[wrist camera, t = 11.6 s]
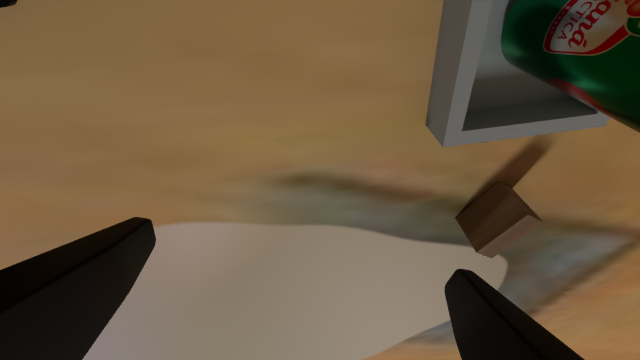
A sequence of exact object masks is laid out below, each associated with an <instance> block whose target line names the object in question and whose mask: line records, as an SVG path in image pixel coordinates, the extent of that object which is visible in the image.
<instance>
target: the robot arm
mask: <svg viewBox="0 0 640 360" xmlns="http://www.w3.org/2000/svg"><path fill="white" fill-rule="evenodd" d="M16 2H17V0H0V8H1V7H7V6H12V5H15V4H16ZM155 242H156V237H155V233H154V229H153V224H152V221H151V220H150V219H147V218H141V217H134V218H131V219H128V220H126V221H123V222H121V223H118V224H116V225H113V226H111V227H108V228H106V229H103V230H101V231H98V232H95V233H93V234H90V235H88V236H85V237H83V238H80V239H78V240H75V241H73V242H70V243H68V244H65V245H63V246H60V247H58V248H55V249H52V250H50V251H47V252H45V253H42V254H40V255H37V256H35V257H32V258H30V259H27V260H25V261H22V262H19V263H17V264H14V265H12V266H9V267H7V268H4V269H2V270H0V360H82V359H83V358H84V356H85V355H86V353H87V352H88V351H89V349H90V348H91V346H92V345H93V344H94V342H95V341H96V339H97V338H98V336H99V335H100V334H101V332H102V330H103V329H104V328H105V326H106V325H107V324H108V322H109V320H110V319H111V318H112V316H113V315H114V314H115V312H116V311H117V309H118V308H119V306H120V305H121V304H122V302H123V301H124V299H125V298H126V296H127V295H128V293H129V292H130V290H131V288H132V287H133V285H134V283H135V281H136V279H137V278H138V276H139V274H140V272H141V270H142V269H143V267H144V265H145V263H146V261H147V259H148V258H149V256H150V254H151V252H152V250H153V248H154V246H155ZM445 296H446V300H447V305H448V310H449V314H450V319H451V323H452V328H453V332H454V336H455V340H456V343H457V346H458V349H459V352H460V355H461V358H462V360H584V359H583V358H582V357H580V356H579V355H578V354H577V353H575V352H574V351H573V350H572V349H570V348H569V347H568V346H567V345H565V344H564V343H563V342H561V341H560V340H559V339H558V338H556V337H555V336H554V335H553V334H551V333H550V332H549V331H548V330H546V329H545V328H544V327H542V326H541V325H540V324H539V323H537V322H536V321H535V320H534V319H532V318H531V317H530V316H528V315H527V314H526V313H525V312H523V311H522V310H521V309H520V308H518V307H517V306H516V305H515V304H513V303H512V302H511V301H509V300H508V299H507V298H506V297H504V296H503V295H502V294H501V293H499V292H498V291H497V290H496V289H494V288H493V287H492V286H490V285H489V284H488V283H487V282H485V281H484V280H483V279H482V278H480V277H479V276H477V274H475V273H474V272H472V271H470V270H465V269H457V270H456V271H455V272H454V274H453V275H452V277H451V278H450V279H449V280H448V282H447V283H446V285H445Z"/></svg>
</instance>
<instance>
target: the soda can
mask: <svg viewBox="0 0 640 360" xmlns="http://www.w3.org/2000/svg"><path fill="white" fill-rule="evenodd" d="M501 49H502V53H503V56H504V57H505V59H506V60H507V61H508V62H509V63H510V64H511V65H513V66H514V67H516V68H518V69H520V70H522V71H524V72H526V73H527V74H529V75H531V76H533V77H535V78H537V79H539V80H541V81H543V82H545V83H546V84H548V85H550V86H552V87H554V88H556V89H558V90H560V91H562V92H564V93H565V94H567V95H569V96H571V97H573V98H575V99H577V100H579V101H581V102H582V103H584V104H586V105H588V106H590V107H592V108H594V109H596V110H598V111H600V112H601V113H603V114H605V115H607V116H609V117H611V118H613V119H615V120H617V121H618V122H620V123H622V124H624V125H626V126H628V127H630V128H632V129H634V130H636V131H637V132H639V133H640V0H516V2H515V3H514V5H513V6H512V8H511V10H510V11H509V13H508V15H507V18H506V20H505V22H504V25H503V29H502V34H501Z"/></svg>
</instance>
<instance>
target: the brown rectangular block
mask: <svg viewBox="0 0 640 360" xmlns="http://www.w3.org/2000/svg"><path fill="white" fill-rule="evenodd" d="M456 220H457V221H458V223H459V225H460V226H461V228H462V230H463V231H464V233H465V235H466V236H467V238H468V239H469V241H470V243H471V244H472V246H473V248H474V249H475V251H476V253H479V254H482V255H484V256H487V257H490V258H493V257H494V256H496V255H497V254H499V253H500V252H502V251H503V250H504V249H506V248H507V247H509V246H510V245H512V244H513V243H514V242H516V241H517V240H519V239H520V238H522V237H523V236H525V235H526V234H527V233H529V232H530V231H532V230H533V229H535V228H536V227H537V226H539V225H540V224H542V223H543V221H542V220H541V219H540V218H539V217H538V216H537V215H536V214H535V213H534V212H533V210H532V209H531V208H530V207H529V206H528V205H527V204H526V203H525V202H524V201H523V200H522V199H521V197H520V196H519V195H518V194H517V193H516V192H515V191H514V190H513V189H512V188H510V187H508V186H506V185H504V184H503V183H501V182H499V181H498V182H497V183H495V184H494V185H493V186H492V187H491V188H490V189H488V190H487V191H486V192H485V193H484V194H483V195H481V196H480V197H479V198H478V199H477V200H476V201H474V202H473V203H472V204H471V205H470V206H469V207H467V208H466V209H465V210H464V211H463V212H462V213H461V214H459V215H458V216H457V217H456Z"/></svg>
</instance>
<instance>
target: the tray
mask: <svg viewBox="0 0 640 360" xmlns="http://www.w3.org/2000/svg"><path fill="white" fill-rule="evenodd" d="M515 2H516V0H444V4H443V11H442V17H441V24H440V31H439V38H438V45H437V51H436V58H435V65H434V72H433V79H432V85H431V92H430V99H429V106H428V112H427V119H426V126H427V127H428V128H429V130H430V131H431V132H432V134H433V135H434V136H435V138H436V139H437V140H438V142H439V143H440V144H441V145H442V147H449V146H456V145H464V144H472V143H479V142H487V141H495V140H503V139H510V138H518V137H526V136H533V135H541V134H549V133H556V132H564V131H572V130H580V129H587V128H595V127H603V126H605V125H606V124H607V122H608V120H609V119H610V117H609V116H607V115H605V114H603V113H601V112H600V111H598V110H596V109H594V108H592V107H590V106H588V105H586V104H584V103H582V102H581V101H579V100H577V99H575V98H573V97H571V96H569V95H567V94H565V93H564V92H562V91H560V90H558V89H556V88H554V87H552V86H550V85H548V84H546V83H545V82H543V81H541V80H539V79H537V78H535V77H533V76H531V75H529V74H527V73H526V72H524V71H522V70H520V69H518V68H516V67H514V66H513V65H511V64H510V63H509V62H508V61H507V60H506V59H505V57H504V56H503V53H502V49H501V34H502V29H503V25H504V22H505V20H506V18H507V15H508V13H509V11H510V10H511V8H512V6H513V5H514V3H515Z"/></svg>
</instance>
